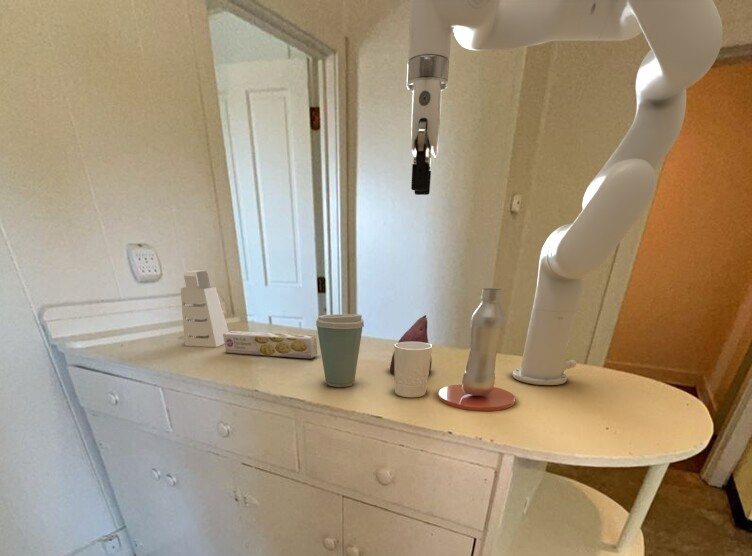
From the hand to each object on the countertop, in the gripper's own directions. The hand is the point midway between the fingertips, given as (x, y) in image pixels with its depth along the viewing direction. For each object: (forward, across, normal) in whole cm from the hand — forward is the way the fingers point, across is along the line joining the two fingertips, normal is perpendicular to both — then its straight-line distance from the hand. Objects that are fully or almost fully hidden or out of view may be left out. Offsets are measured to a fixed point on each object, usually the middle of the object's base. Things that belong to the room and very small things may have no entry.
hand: (420, 192), depth 87 cm
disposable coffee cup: (+37, -12, +15) cm, 42 cm away
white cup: (+37, -16, -1) cm, 40 cm away
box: (+37, +13, +41) cm, 57 cm away
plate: (+37, -17, -15) cm, 43 cm away
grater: (+37, +24, +66) cm, 80 cm away
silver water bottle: (+36, -17, -15) cm, 43 cm away
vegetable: (+37, +1, 0) cm, 37 cm away
